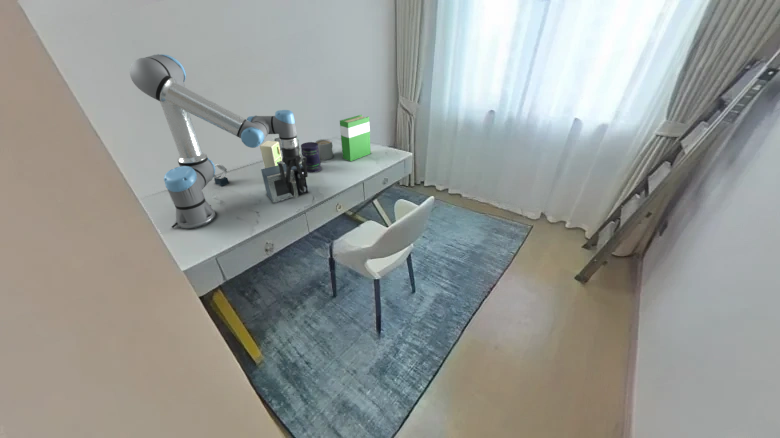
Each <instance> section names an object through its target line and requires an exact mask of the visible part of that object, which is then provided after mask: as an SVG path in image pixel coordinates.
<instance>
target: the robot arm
mask: <svg viewBox="0 0 780 438" xmlns="http://www.w3.org/2000/svg"><path fill="white" fill-rule="evenodd" d="M129 77H130V80H131V81H132V83H133V84H134V85H135V87H137V88H138V90H140V91H141V92H143V93H144V94H145V95H147V96H149V97H150V98H152V99H155V101H158V102H159V103H160V106H161V107H162V111H163V113H164V116H165V119H166V122H167V124H168V128H169V131H170V132H171V135H172V138H173V140H174V143H175V146H176V150H177V152H178V155H179V156H178V158H177V163H178V165H179V166H177V167H174V168H171V169H169V170H168V171H167V172H165V174H164V176H163V182H164V185H165V188H166V189H167V192H168V193H169V196H170V198H171V200H172V202H173V205H174V207H175V222H174V224H173V225H172V226H171V228H172V229H174V228H175V227H176V226H178V227H179V228H180V229H184V230H192V229H197V228H201V227H204V226H206V225H208V224H210V223H212V222H213V221H214V220H215V219H216V216H217V215H216V212H215V210H214V208H213V207H212V205H211V204H210V203H208V201H207V200H206V198H205V195H204V192H203V190H204V189H205V188H206V187H207V185H209V183H210V182H211V181H212V180H213V179H214V177H213V176H214V174H215V175H216V167H215V166H214V164H215V163H214V162H213V161H212V159H210V158H209V157H208V155H207V154H206V153H205V152H203V151H202V148H201V146H200V142H199V139H198V136H197V133H196V131H195V126H194V124H193V121H192V118H191V115H193V116H195V117H197V118H198V119H201V120H203V121H205V122H207V123H209V124H211V125H213V126H215V127H217V128H219V129H221V130H223V131H225V132H227V133H229V134H231V135H233V136H235V137H237V138H239V139H240V140H241V142H242V143H243V145H244V146H246V147H248V148H251V149H254V148H258V147H260V145H262V144H263V143H264V142H265V139H266V137H267V136H268V135H278V138H279V145H280V151H281V156H282V161H280V162H277V164H278V166H279V169H280V174H281V179H282V181H283V182H284V183H286V184H287V188H288V189H290V193H291V195H294V193H293V187H292V183H291V182H290V175H291V168H292V167H293V166H296V168H297V171H298V173H299V175H300V177H301V178H299V183H300V189H301V191H302V192H304V187H303V185H305V181H304V180H305V178H306V179H307V178H308V177H309V175H308V173H309V172H307V166H306V161H307V158H306V157H304V156H303V155H302V156H300V155H301V152H300V153H299V149H300V146H299V147H298V143H299V139H298V134H297V127H296V120H295V116H294V112H293V111H292V110H289V109H279V110H276V111H275V112H274V115H252V116H247V118H244V117H242V116H240V115H238V114H237V113H234V112H232V111H231V110H229V109H227V108H225V107H223V106H221V105H220V104H217V103H216V102H213V101H212V100H210V99H208V98H206V97H204V96H202V95H200V94H198V93H197V92H195V91H192V90H190V89H189V88H187V87H186V85H185V81H186V80H187V79H186V78H187V73H186V69H185V68H184V66H183V64H182V63H181V62H180V61H179V60H178V59H177V58H175V57H173V56H171V55H169V54H164V53H161V54H159V53H157V54H153V55H149V56H145V57H140V58H137V59H135V60H134V61H133V62H131V65H130V67H129ZM190 114H191V115H190ZM297 139H298V140H297ZM300 160H301V161H302V163H301V166H302V167H303V173H302V171H301V169H300V166H299V162H300ZM283 164H286V179H285V174H284V168H283Z"/></svg>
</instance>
